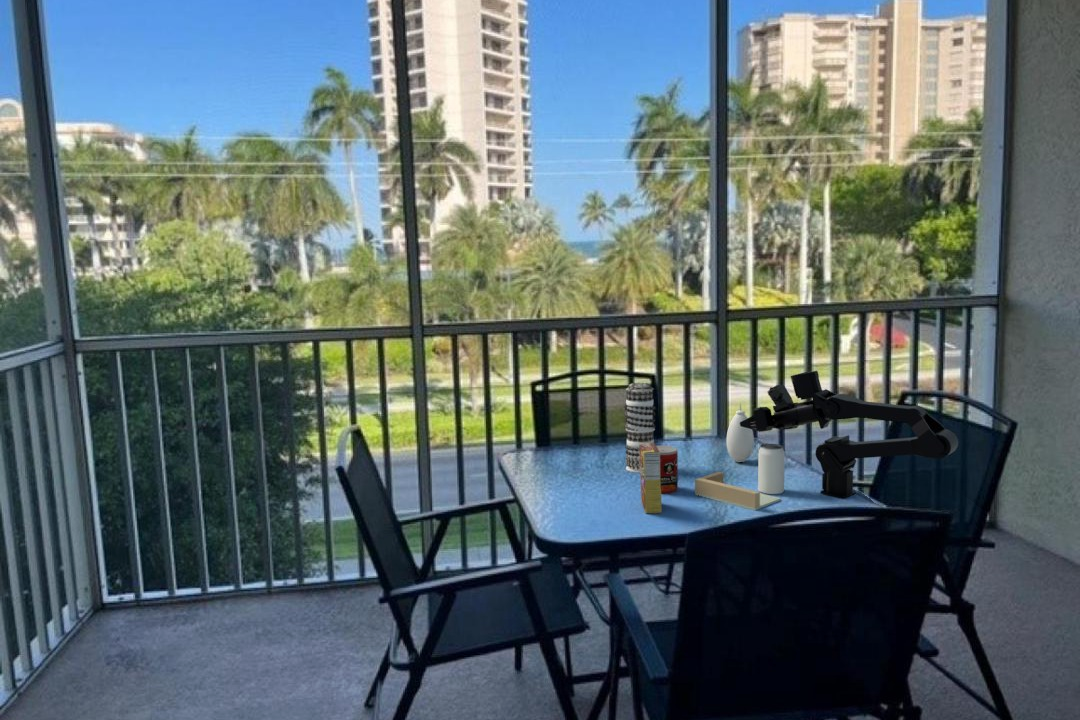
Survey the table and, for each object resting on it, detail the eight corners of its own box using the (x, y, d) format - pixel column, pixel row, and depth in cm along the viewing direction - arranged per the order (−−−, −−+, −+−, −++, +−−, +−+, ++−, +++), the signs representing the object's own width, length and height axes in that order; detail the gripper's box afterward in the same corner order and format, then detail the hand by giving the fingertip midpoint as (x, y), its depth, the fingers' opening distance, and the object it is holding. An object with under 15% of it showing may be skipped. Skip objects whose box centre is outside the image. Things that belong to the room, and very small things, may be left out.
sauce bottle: (754, 465, 229) (755, 404, 227) (727, 465, 230) (727, 404, 228) (752, 458, 236) (752, 399, 234) (725, 458, 238) (725, 399, 235)
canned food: (655, 495, 203) (655, 453, 202) (643, 486, 211) (643, 446, 209) (683, 492, 205) (682, 450, 204) (670, 483, 213) (669, 444, 211)
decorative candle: (621, 472, 226) (620, 386, 223) (628, 463, 234) (627, 381, 231) (653, 474, 223) (652, 387, 220) (658, 465, 231) (658, 381, 228)
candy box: (639, 502, 197) (639, 443, 195) (656, 502, 197) (656, 442, 195) (643, 514, 189) (643, 451, 187) (661, 513, 188) (661, 451, 187)
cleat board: (780, 500, 196) (780, 484, 195) (754, 510, 189) (755, 493, 188) (721, 486, 210) (721, 471, 209) (695, 494, 202) (695, 479, 202)
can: (755, 493, 202) (756, 447, 201) (761, 486, 208) (761, 442, 206) (781, 496, 199) (782, 450, 198) (786, 489, 205) (786, 444, 203)
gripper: (811, 383, 213) (760, 394, 223) (778, 383, 199) (725, 395, 210) (820, 423, 211) (767, 433, 221) (787, 426, 197) (733, 436, 208)
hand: (748, 423), depth 215 cm, fingers open, 9 cm apart
